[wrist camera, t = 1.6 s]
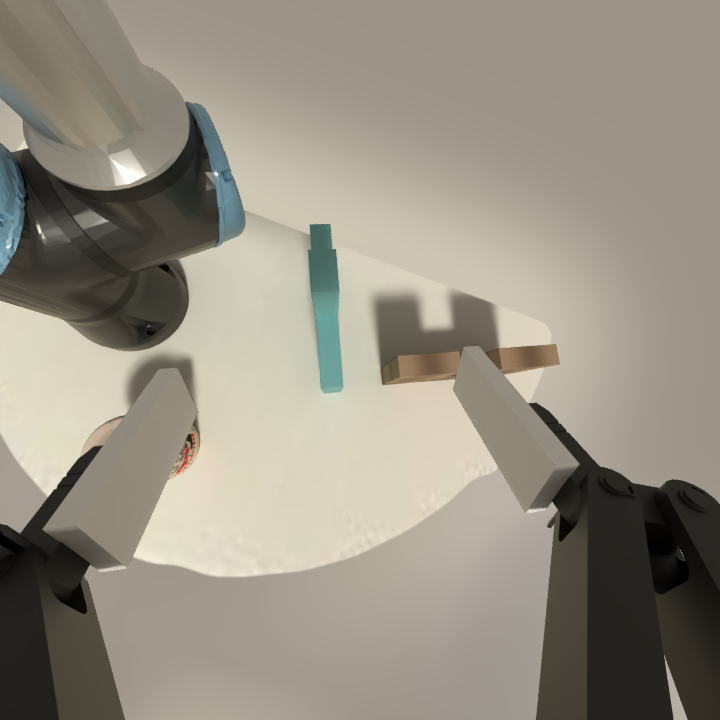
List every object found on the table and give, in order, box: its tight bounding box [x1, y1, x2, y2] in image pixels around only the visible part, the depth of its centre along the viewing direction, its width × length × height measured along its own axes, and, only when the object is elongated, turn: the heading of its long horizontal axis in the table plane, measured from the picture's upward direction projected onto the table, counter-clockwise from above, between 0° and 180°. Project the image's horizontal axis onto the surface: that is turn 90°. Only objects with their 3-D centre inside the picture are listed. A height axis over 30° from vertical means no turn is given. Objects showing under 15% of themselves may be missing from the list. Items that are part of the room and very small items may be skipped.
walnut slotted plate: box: [381, 344, 560, 385], centre depth 40 cm, size 20×2×12 cm, turn 95°
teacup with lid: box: [81, 415, 199, 480], centre depth 35 cm, size 12×9×12 cm
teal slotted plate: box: [308, 224, 343, 393], centre depth 36 cm, size 20×2×20 cm, turn 5°
